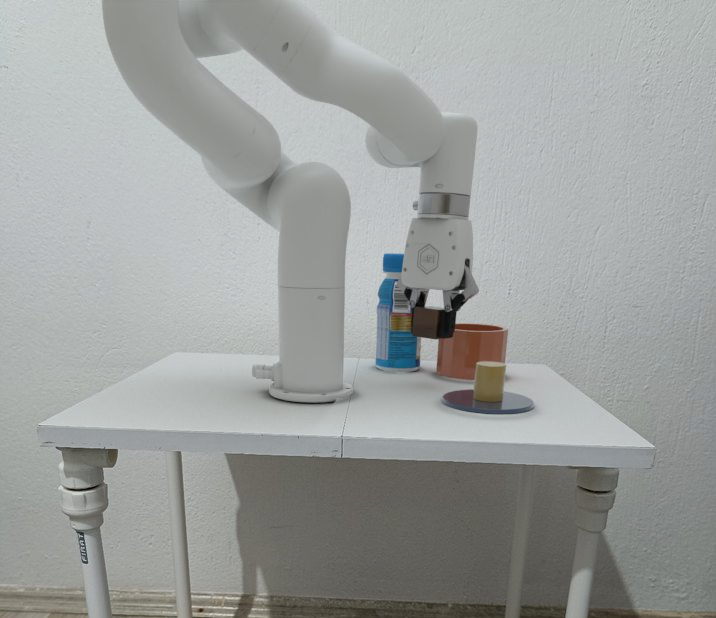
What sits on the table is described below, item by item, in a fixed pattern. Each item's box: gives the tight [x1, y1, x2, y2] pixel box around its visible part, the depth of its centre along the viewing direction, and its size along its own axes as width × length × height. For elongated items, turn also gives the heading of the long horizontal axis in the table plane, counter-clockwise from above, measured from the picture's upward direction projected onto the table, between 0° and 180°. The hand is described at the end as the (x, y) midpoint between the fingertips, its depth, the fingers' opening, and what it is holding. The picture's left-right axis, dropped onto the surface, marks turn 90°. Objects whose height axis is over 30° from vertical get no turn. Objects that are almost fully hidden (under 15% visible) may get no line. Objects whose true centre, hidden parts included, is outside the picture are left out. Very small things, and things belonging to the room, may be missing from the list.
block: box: [412, 305, 445, 340], centre depth 102 cm, size 4×4×4 cm
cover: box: [441, 361, 535, 415], centre depth 94 cm, size 13×13×6 cm
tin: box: [435, 322, 509, 381], centre depth 115 cm, size 12×12×8 cm
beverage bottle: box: [375, 252, 422, 373], centre depth 118 cm, size 8×8×20 cm
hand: (431, 334), depth 103 cm, fingers closed on block, 4 cm apart
